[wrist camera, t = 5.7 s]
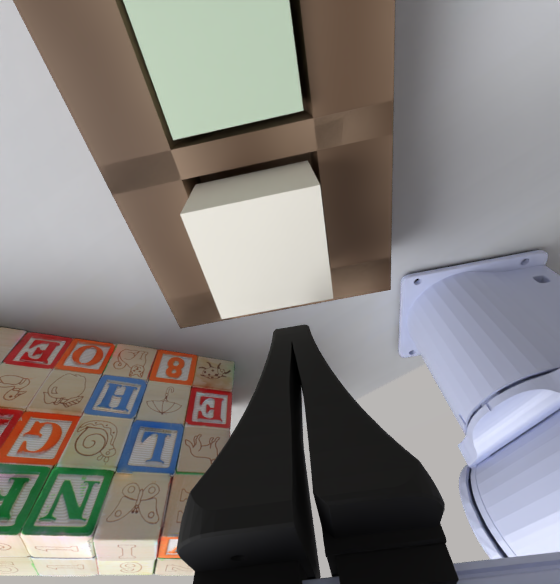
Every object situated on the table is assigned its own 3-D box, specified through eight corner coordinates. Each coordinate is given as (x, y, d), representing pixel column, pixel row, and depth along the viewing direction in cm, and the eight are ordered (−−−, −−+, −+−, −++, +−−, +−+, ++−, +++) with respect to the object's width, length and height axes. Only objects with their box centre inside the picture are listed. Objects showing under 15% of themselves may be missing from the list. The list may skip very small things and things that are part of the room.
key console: (341, -717, 7) (418, -1436, 4) (369, 254, 21) (390, 289, 17) (-160, -518, 8) (-474, -954, 4) (192, 288, 22) (180, 328, 18)
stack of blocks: (-46, 372, 25) (-247, 576, 15) (-73, 313, 22) (-354, 525, 12) (223, 405, 29) (206, 580, 20) (237, 359, 26) (224, 544, 16)
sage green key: (272, -55, 12) (277, -93, 9) (294, 101, 14) (303, 110, 12) (141, -21, 12) (106, -46, 9) (189, 125, 15) (173, 139, 12)
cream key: (307, 160, 14) (319, 184, 11) (320, 259, 17) (333, 298, 14) (195, 184, 14) (179, 214, 11) (227, 277, 17) (221, 319, 14)
